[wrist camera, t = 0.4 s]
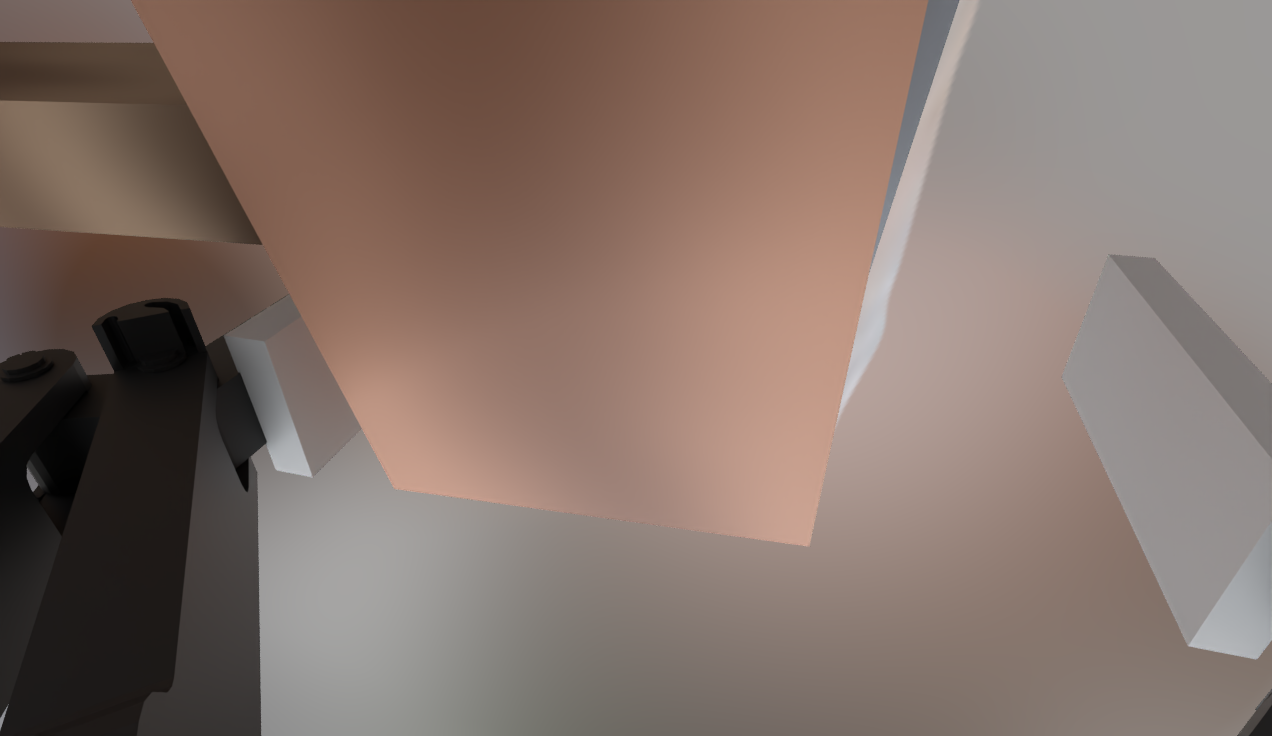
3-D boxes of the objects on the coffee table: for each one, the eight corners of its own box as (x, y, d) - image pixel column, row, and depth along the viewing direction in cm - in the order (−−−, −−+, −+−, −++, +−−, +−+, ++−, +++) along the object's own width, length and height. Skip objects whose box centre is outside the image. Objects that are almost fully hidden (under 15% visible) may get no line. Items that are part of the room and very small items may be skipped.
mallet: (-5, 218, 20) (-279, 395, 15) (-342, -181, 13) (-1017, -101, 8) (815, 272, 15) (809, 545, 10) (898, -280, 9) (978, -229, 4)
